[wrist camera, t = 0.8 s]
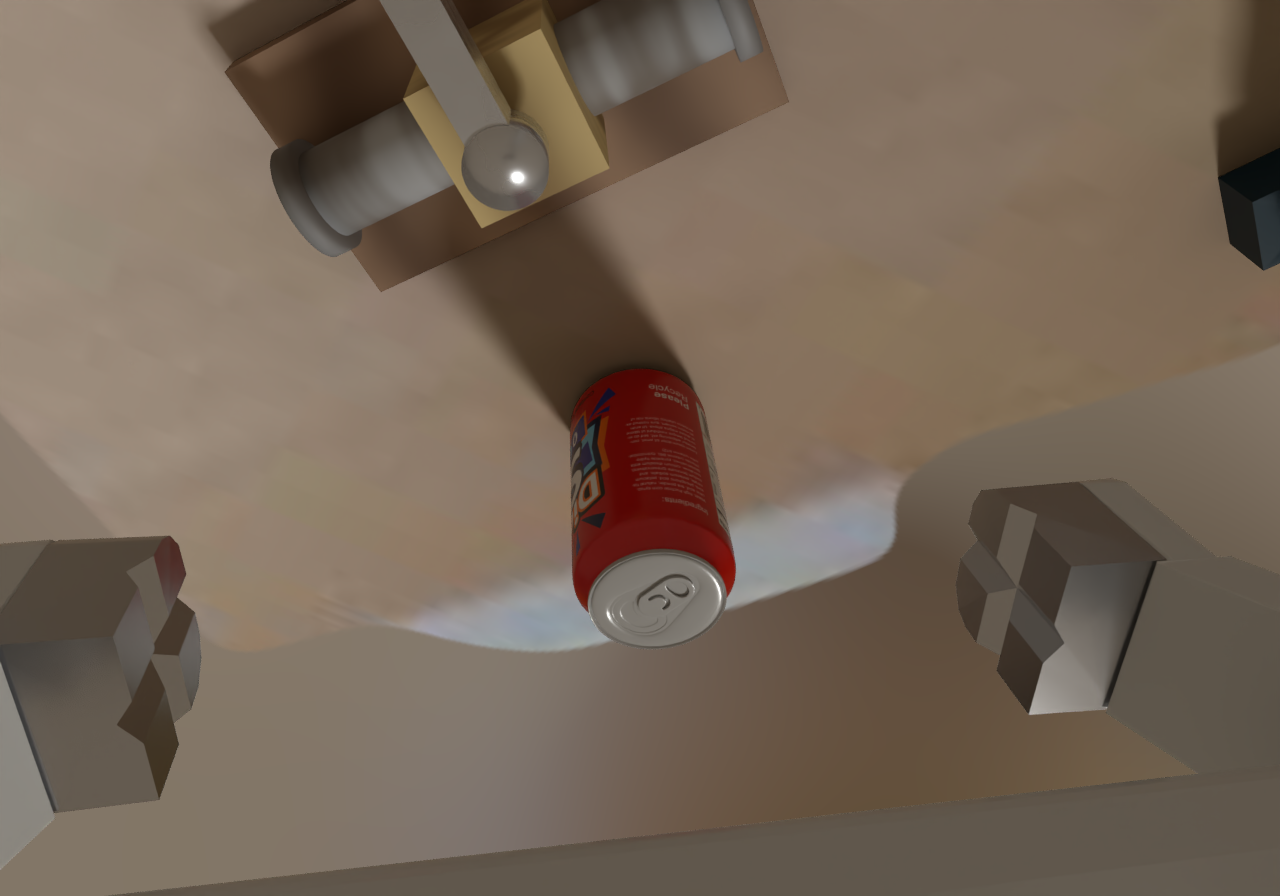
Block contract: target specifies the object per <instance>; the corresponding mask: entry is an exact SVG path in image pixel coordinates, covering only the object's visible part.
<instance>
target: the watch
mask: <svg viewBox="0 0 1280 896" xmlns="http://www.w3.org/2000/svg"><path fill="white" fill-rule="evenodd" d="M1218 180H1219V185H1220V191H1221V196H1222V202H1223V207H1224V213H1225V218H1226V224H1227V229H1228V234H1229V240H1230V244H1231V245H1232V246H1233V247H1235V248H1236V249H1237V250H1238V251H1240V252H1241V253H1242V254H1243V255H1245V256H1246V257H1247V258H1248V259H1250V260H1251V261H1252V262H1253V263H1255V264H1256V265H1257V266H1258V267H1260V268H1261V269H1262V270H1263V271H1264V270H1266V269H1268V268H1270V267H1273V266H1275V265H1277V264H1279V263H1280V148H1279V149H1277V150H1275V151H1273V152H1271V153H1269V154H1266V155H1264V156H1262V157H1260V158H1258V159H1256V160H1254V161H1252V162H1250V163H1248V164H1246V165H1244V166H1241V167H1239V168H1237V169H1235V170H1233V171H1231V172H1229V173H1227V174H1225V175H1223V176H1221V177H1219V178H1218Z"/></svg>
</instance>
